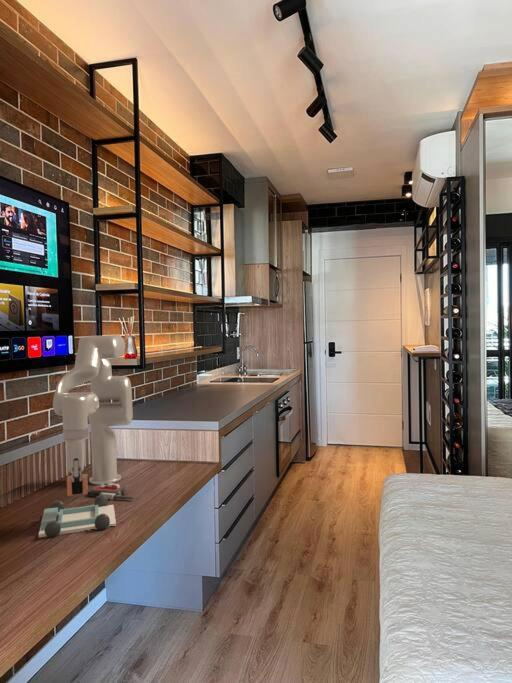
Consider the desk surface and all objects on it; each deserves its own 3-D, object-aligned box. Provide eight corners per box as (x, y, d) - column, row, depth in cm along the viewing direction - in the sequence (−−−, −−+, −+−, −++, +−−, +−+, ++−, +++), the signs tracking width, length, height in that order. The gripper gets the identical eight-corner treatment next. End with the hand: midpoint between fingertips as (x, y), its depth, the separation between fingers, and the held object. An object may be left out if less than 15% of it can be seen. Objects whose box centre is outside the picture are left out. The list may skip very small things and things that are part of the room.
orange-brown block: (68, 491, 160) (67, 475, 160) (87, 489, 162) (87, 473, 162) (67, 495, 155) (66, 480, 155) (87, 493, 157) (87, 477, 157)
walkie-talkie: (83, 499, 182) (132, 503, 176) (83, 487, 182) (131, 490, 176) (97, 491, 190) (144, 495, 185) (97, 480, 190) (144, 483, 185)
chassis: (44, 515, 165) (44, 502, 165) (113, 506, 172) (113, 493, 172) (38, 539, 146) (37, 524, 146) (116, 528, 153) (115, 513, 152)
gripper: (64, 430, 165) (66, 485, 165) (61, 440, 149) (63, 501, 149) (88, 428, 168) (90, 482, 168) (87, 438, 151) (90, 497, 152)
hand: (77, 490), depth 158 cm, fingers closed on orange-brown block, 5 cm apart
